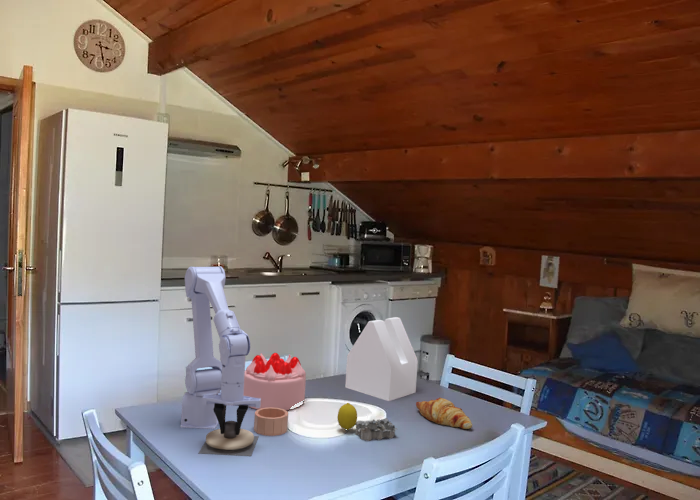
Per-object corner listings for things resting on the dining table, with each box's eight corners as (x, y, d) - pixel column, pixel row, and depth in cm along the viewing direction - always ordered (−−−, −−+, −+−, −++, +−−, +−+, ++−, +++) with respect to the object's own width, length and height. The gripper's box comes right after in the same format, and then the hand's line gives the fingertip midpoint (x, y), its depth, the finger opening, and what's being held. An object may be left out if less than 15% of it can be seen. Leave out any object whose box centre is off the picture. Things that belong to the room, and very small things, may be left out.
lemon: (354, 435, 165) (355, 407, 165) (334, 433, 166) (336, 404, 166) (358, 428, 171) (359, 401, 170) (339, 426, 172) (340, 398, 171)
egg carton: (362, 442, 162) (363, 427, 161) (352, 432, 169) (353, 418, 168) (398, 439, 165) (398, 424, 165) (387, 429, 172) (387, 415, 172)
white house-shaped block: (345, 387, 210) (349, 317, 209) (372, 380, 222) (376, 313, 220) (388, 401, 198) (393, 326, 196) (415, 392, 209) (420, 321, 208)
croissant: (476, 440, 177) (485, 415, 179) (459, 431, 170) (469, 405, 172) (420, 418, 192) (429, 395, 194) (403, 409, 185) (413, 385, 187)
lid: (200, 448, 147) (201, 430, 147) (211, 430, 159) (212, 413, 159) (249, 450, 147) (250, 433, 147) (256, 432, 159) (257, 416, 159)
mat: (198, 454, 147) (198, 453, 147) (210, 435, 160) (210, 433, 160) (251, 457, 147) (251, 456, 147) (258, 437, 160) (258, 436, 160)
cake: (257, 389, 202) (260, 347, 201) (313, 397, 197) (316, 354, 196) (231, 406, 184) (233, 360, 183) (292, 416, 178) (294, 369, 177)
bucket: (251, 435, 161) (252, 417, 160) (256, 423, 170) (257, 406, 169) (285, 437, 161) (286, 419, 161) (288, 425, 170) (289, 408, 170)
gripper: (200, 383, 148) (198, 437, 149) (259, 387, 148) (256, 440, 149) (207, 375, 155) (204, 427, 156) (263, 379, 155) (260, 430, 156)
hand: (230, 433), depth 153 cm, fingers closed on lid, 3 cm apart
